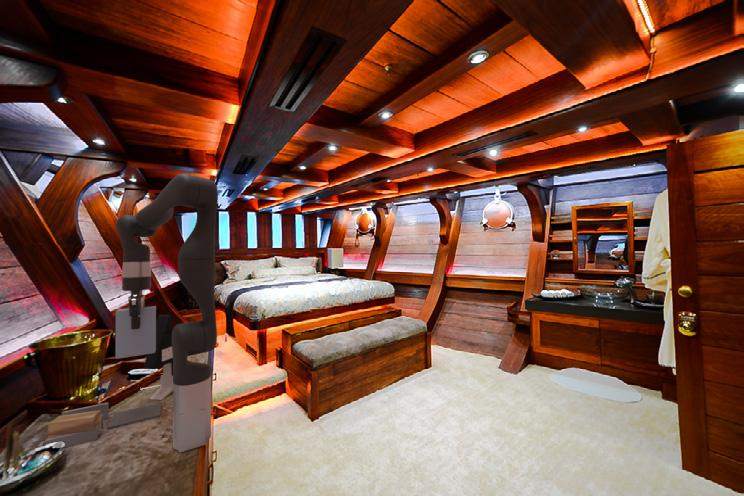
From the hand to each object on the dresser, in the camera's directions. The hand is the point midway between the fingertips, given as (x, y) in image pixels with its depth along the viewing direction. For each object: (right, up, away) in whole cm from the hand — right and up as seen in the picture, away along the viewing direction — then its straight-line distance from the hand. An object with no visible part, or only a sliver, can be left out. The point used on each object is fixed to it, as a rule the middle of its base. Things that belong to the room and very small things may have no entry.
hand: (136, 327), depth 97 cm
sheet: (0, -9, 0) cm, 9 cm away
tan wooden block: (-9, -29, -10) cm, 32 cm away
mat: (0, -29, -1) cm, 29 cm away
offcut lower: (-7, -29, -13) cm, 33 cm away
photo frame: (-10, -31, +29) cm, 43 cm away
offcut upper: (-7, -26, -13) cm, 30 cm away
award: (-1, -30, +15) cm, 34 cm away
